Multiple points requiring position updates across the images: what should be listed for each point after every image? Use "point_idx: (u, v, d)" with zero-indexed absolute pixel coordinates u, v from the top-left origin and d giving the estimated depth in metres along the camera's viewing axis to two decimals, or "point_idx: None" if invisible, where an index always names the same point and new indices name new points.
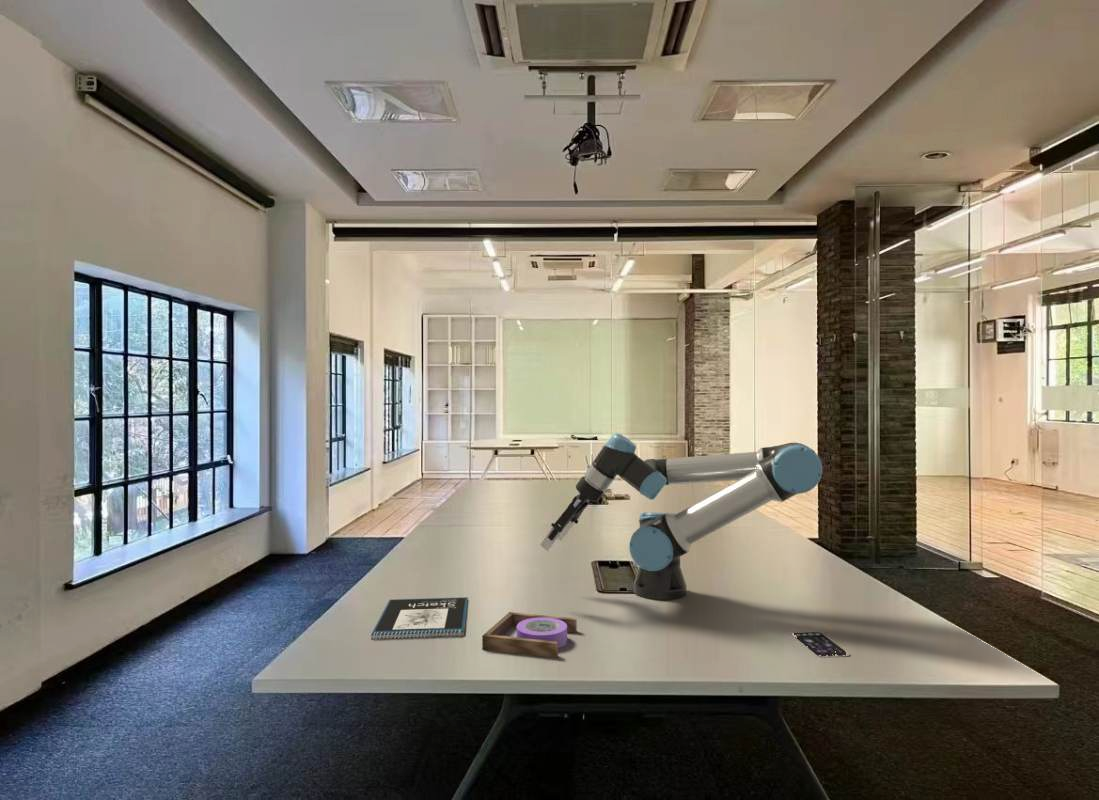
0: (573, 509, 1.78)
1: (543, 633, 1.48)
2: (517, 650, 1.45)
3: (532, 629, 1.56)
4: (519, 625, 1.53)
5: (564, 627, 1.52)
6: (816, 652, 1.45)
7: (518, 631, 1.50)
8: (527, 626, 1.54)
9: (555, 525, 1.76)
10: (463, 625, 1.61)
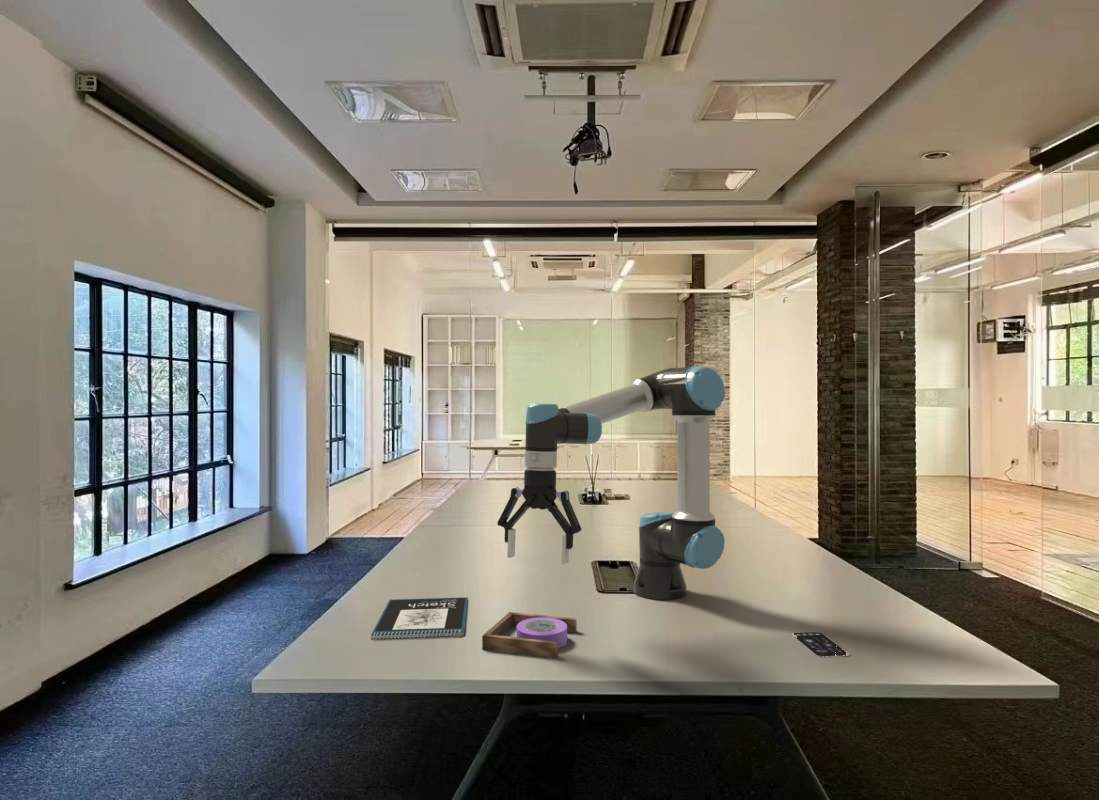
0: (569, 502, 1.53)
1: (543, 633, 1.48)
2: (517, 650, 1.45)
3: (532, 629, 1.56)
4: (519, 625, 1.53)
5: (564, 627, 1.52)
6: (816, 652, 1.45)
7: (518, 631, 1.50)
8: (527, 626, 1.54)
9: (578, 529, 1.51)
10: (463, 625, 1.61)
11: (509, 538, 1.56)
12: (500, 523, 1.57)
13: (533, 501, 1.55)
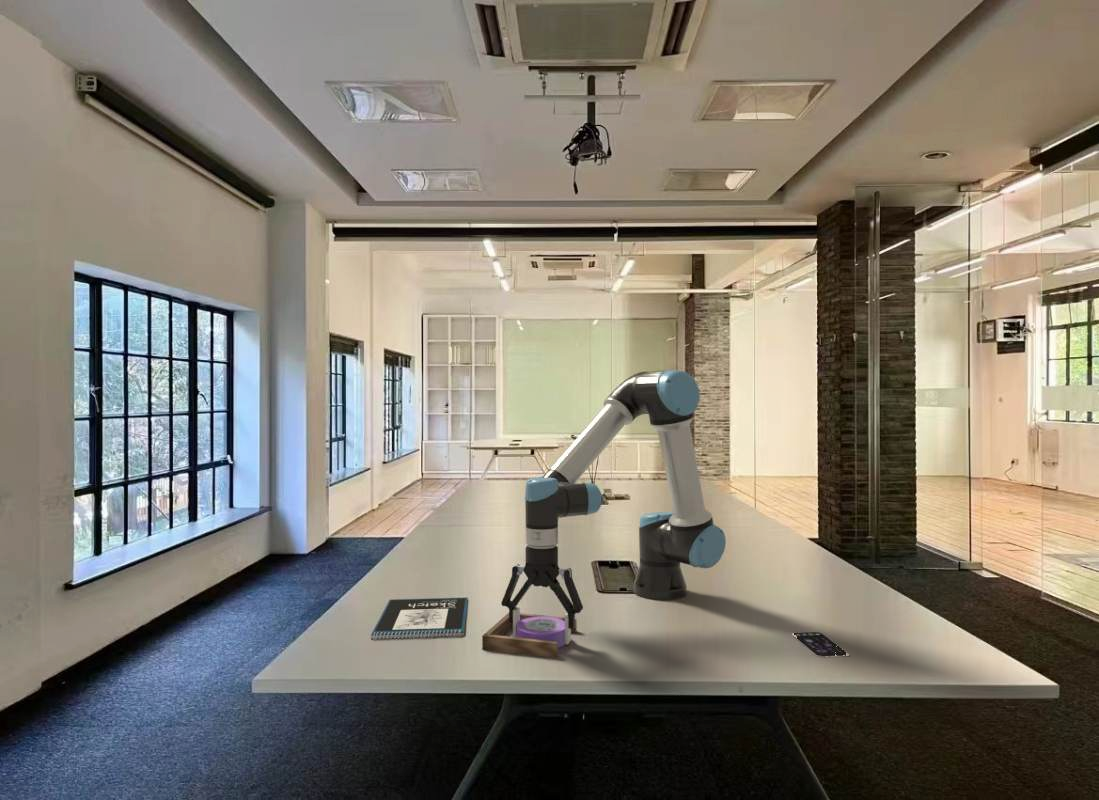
0: (571, 580, 1.51)
1: (543, 632, 1.48)
2: (517, 650, 1.45)
3: (532, 628, 1.56)
4: (519, 624, 1.53)
5: (564, 626, 1.52)
6: (816, 652, 1.45)
7: (518, 630, 1.50)
8: (527, 625, 1.54)
9: (580, 609, 1.49)
10: (463, 625, 1.61)
11: (514, 619, 1.53)
12: (504, 603, 1.54)
13: (536, 578, 1.52)
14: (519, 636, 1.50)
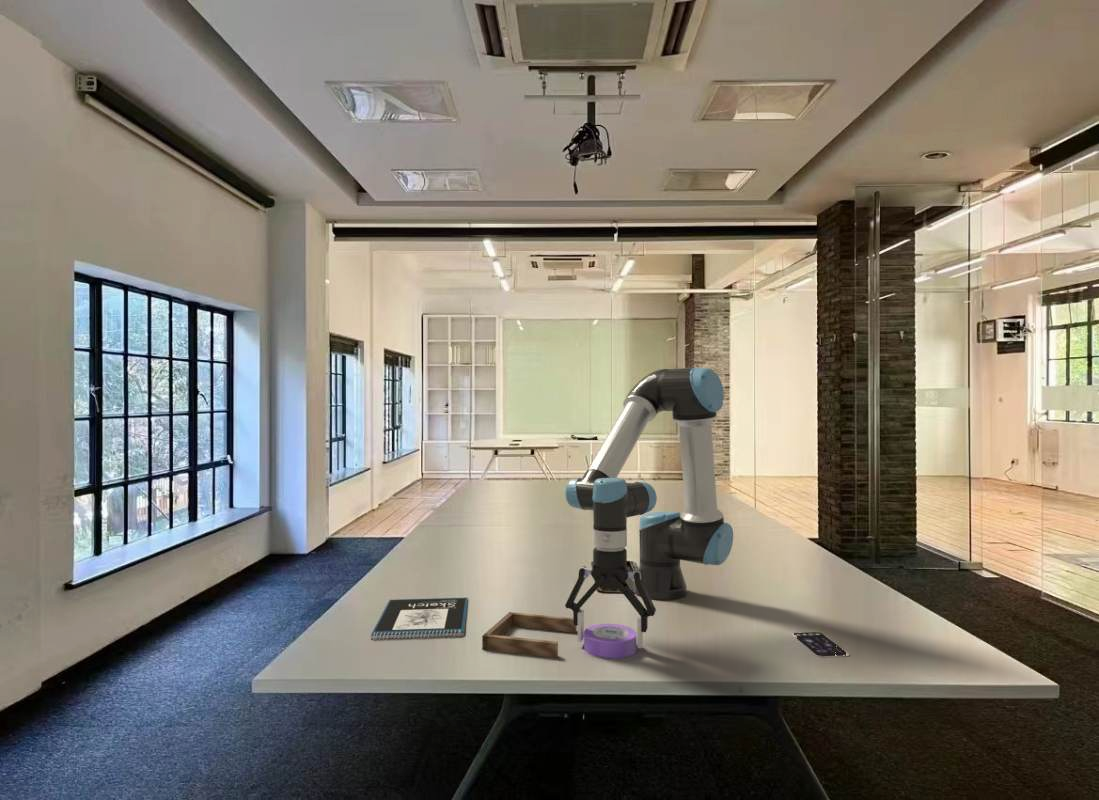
0: (642, 583, 1.46)
1: (614, 640, 1.43)
2: (517, 650, 1.45)
3: (599, 636, 1.51)
4: (587, 632, 1.48)
5: (634, 634, 1.47)
6: (816, 652, 1.45)
7: (587, 638, 1.46)
8: (594, 633, 1.50)
9: (654, 611, 1.45)
10: (463, 625, 1.60)
11: (579, 621, 1.49)
12: (568, 605, 1.50)
13: (604, 582, 1.47)
14: (588, 644, 1.45)
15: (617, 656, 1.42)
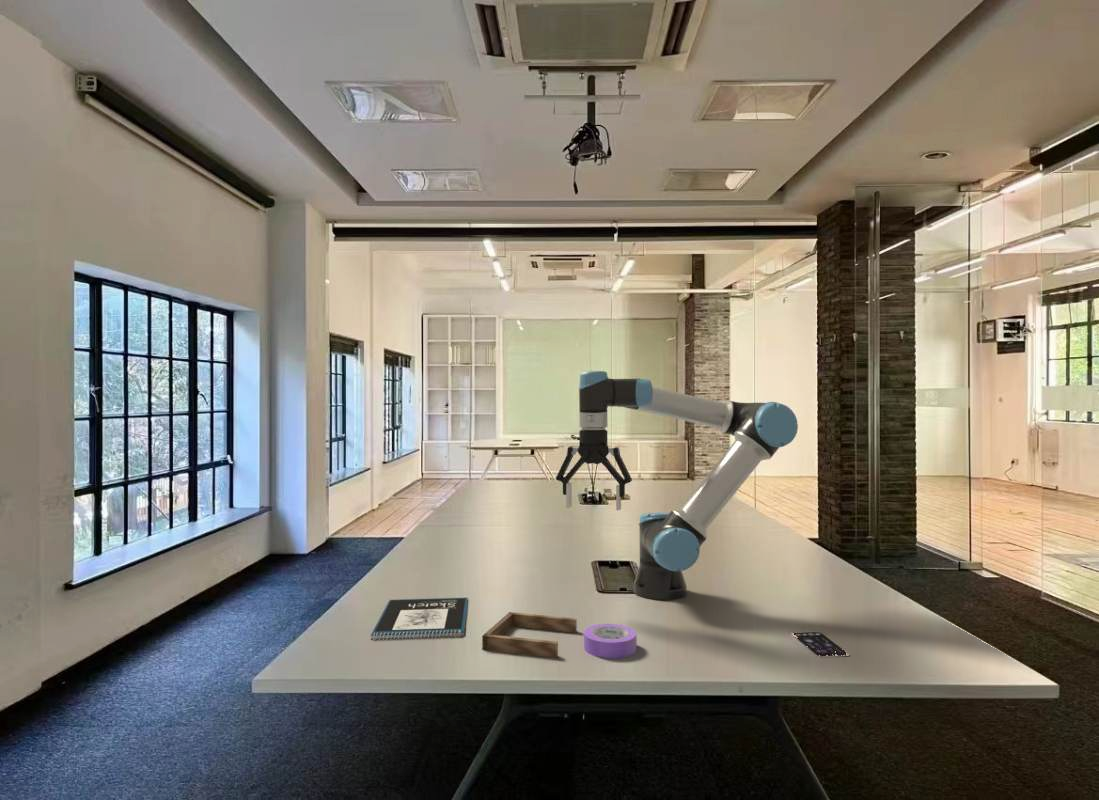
0: (620, 457, 1.75)
1: (614, 640, 1.43)
2: (517, 650, 1.45)
3: (599, 636, 1.51)
4: (587, 632, 1.48)
5: (634, 634, 1.47)
6: (816, 652, 1.45)
7: (587, 638, 1.46)
8: (594, 633, 1.50)
9: (630, 479, 1.73)
10: (463, 625, 1.60)
11: (567, 490, 1.78)
12: (558, 478, 1.78)
13: (588, 457, 1.76)
14: (588, 644, 1.45)
15: (617, 656, 1.42)
